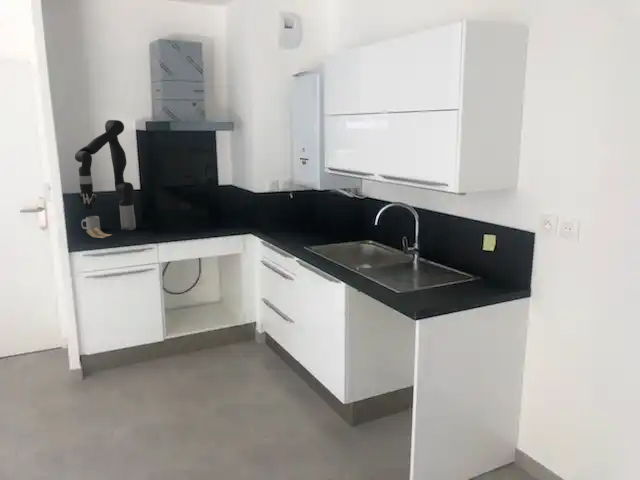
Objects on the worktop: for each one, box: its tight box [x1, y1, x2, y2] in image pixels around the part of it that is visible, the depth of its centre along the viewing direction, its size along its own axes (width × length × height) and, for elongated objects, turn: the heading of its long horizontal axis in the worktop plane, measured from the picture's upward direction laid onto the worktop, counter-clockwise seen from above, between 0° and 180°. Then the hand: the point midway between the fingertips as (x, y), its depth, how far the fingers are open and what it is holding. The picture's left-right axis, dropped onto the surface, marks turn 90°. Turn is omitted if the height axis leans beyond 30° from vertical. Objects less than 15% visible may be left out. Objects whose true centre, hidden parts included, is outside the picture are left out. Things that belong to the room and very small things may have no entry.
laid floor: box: [96, 233, 113, 239], centre depth 345 cm, size 11×14×2 cm
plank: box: [85, 227, 106, 238], centre depth 345 cm, size 10×7×1 cm
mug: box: [80, 215, 101, 231], centre depth 357 cm, size 12×8×11 cm
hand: (88, 209), depth 340 cm, fingers closed
